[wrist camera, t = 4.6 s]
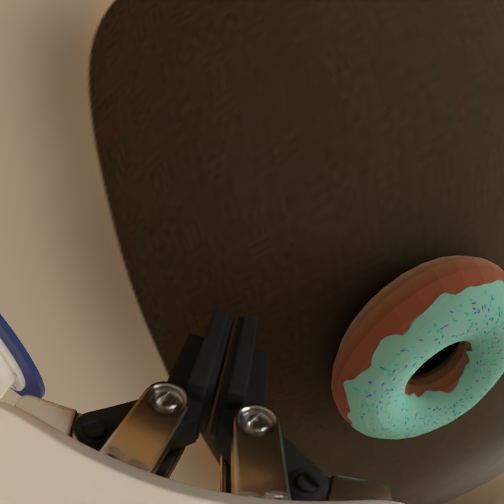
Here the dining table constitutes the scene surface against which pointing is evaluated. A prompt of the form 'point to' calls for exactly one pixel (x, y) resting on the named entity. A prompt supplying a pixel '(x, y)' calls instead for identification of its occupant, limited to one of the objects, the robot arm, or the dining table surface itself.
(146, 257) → the dining table surface
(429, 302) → the donut
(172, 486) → the robot arm
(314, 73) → the dining table surface
